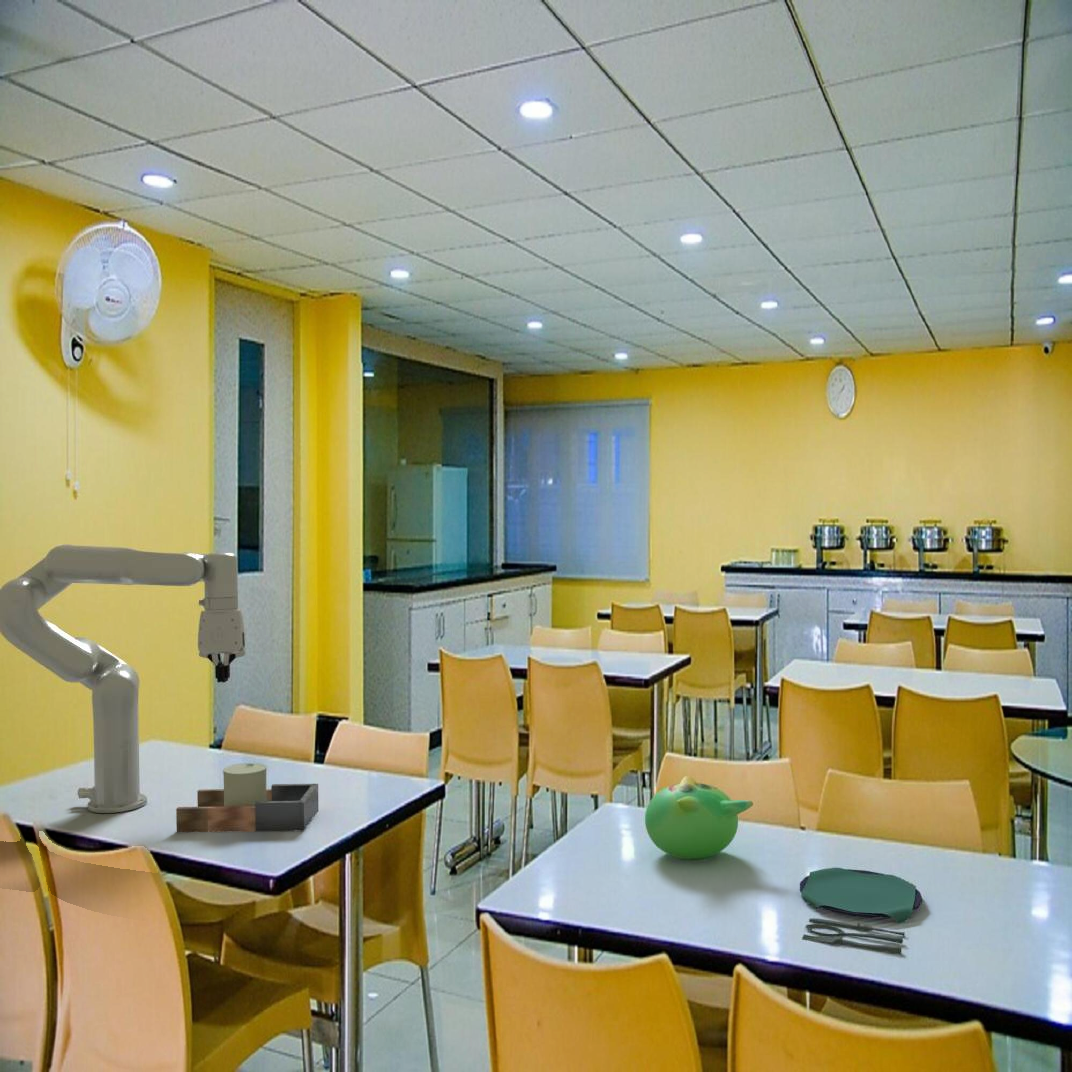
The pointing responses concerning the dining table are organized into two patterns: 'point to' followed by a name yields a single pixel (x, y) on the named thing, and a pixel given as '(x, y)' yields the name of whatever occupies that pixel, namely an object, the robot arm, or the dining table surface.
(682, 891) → the dining table surface
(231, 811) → the channel
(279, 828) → the box
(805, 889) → the cutlery set
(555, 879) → the dining table surface
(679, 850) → the toy bird
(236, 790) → the can
